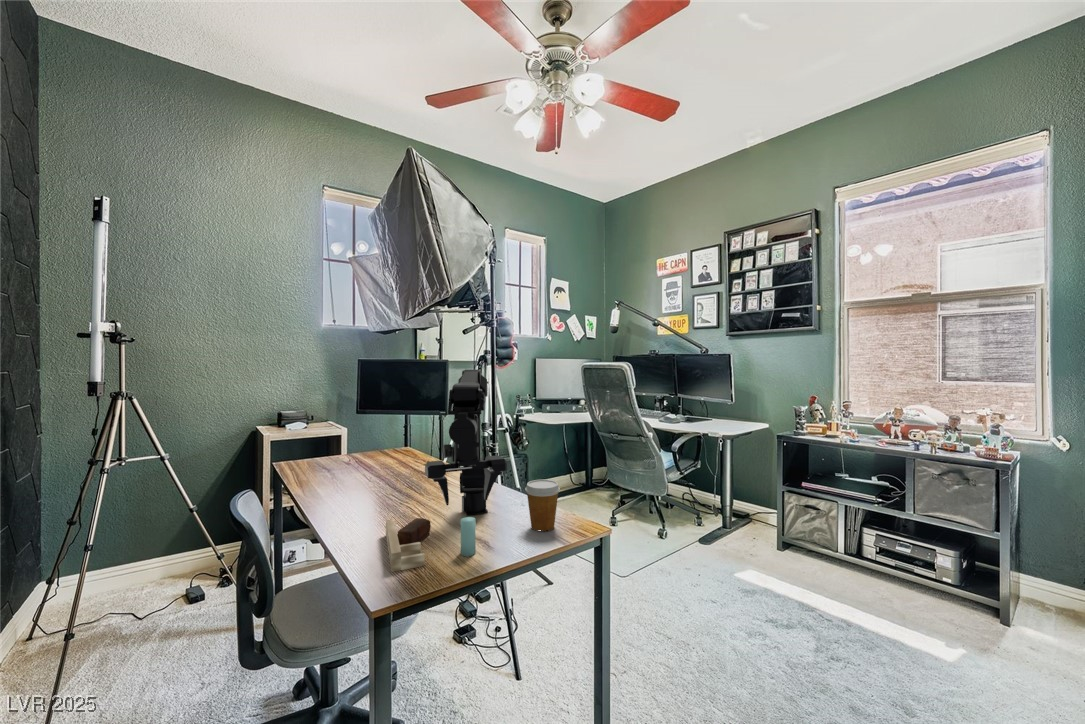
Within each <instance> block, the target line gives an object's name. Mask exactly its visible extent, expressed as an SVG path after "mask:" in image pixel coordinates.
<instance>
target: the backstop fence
mask: <svg viewBox="0 0 1085 724" xmlns="http://www.w3.org/2000/svg"><path fill="white" fill-rule="evenodd" d="M397 534H398V531H397V528H396V523H395V519H394V518H391V519H386V520H385V537H386V543H387V550H388V556H389V564H390V569H391V572H392V573H393V572H398V571H403V570H410V569H415V568H419V567H425V559H426V557H425V552H423V553H422V552H421V551H422V547H421V546H422V542H416V543H410V544H404V545H399V540H398V536H397Z"/></svg>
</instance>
